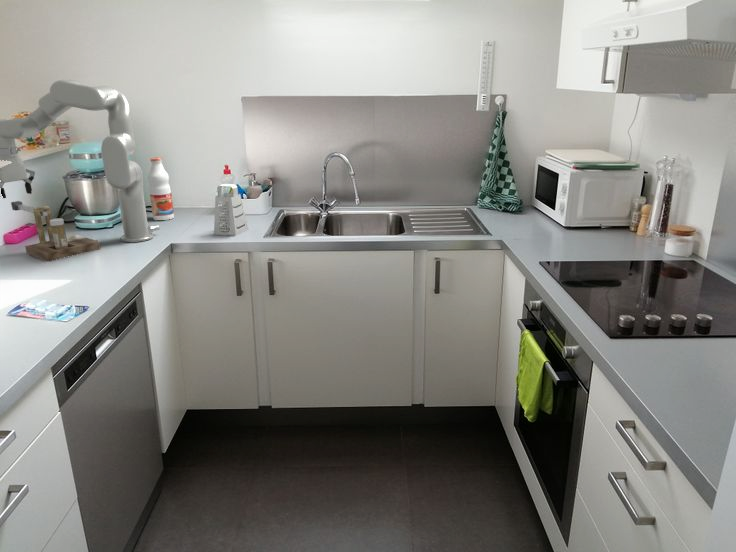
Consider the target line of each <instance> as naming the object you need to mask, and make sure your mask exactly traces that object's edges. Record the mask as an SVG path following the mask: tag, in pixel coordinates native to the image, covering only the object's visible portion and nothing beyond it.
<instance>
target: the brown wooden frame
mask: <svg viewBox="0 0 736 552" xmlns="http://www.w3.org/2000/svg"><path fill="white" fill-rule="evenodd" d="M43 210H44V211H47V213H48V216H44V218H45V219H44V220H45V224H46V228H47V229H46V230H47V233H48V240H47V239H46V234H45V230H44V225H43V220H42V216H41V214H40V211H43ZM33 212H34V213H33V216H34V221H35V226H36V230H37V236H38V241H39V242H38V243H33V244H29V245H25V247H24V248H25V252H26V254H27V255H29V256H31V255H32V256H31V257H34V258H37V259H39V260H42V261H44V260H45V261H44V262H48V261H49V262H53V261H56V259H57V260H60V258H61V259H64V257H65V258H68V256H69V257H73V256H77V254H78V255H81V253H82V254H84V253H85V252H86V253H90V252H94V251H97V250H101V246H100V241H99V240H95V239H91V238H89V237H87V236H84V235H83V236H82V235H79V234H75V235H70V236H66V238H67V243H68V248H64V249H60V250H56V247H55V244H54V239H53V234H52V233H53V232H52V228H51V225H50V220H52V219H53V218H52V213H51V208H50V206H48V205H44V206H40V207H39V206H38V207H33ZM86 253H85V254H86ZM72 255H73V256H72ZM52 260H53V261H52Z"/></svg>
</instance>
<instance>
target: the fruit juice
mask: <svg viewBox="0 0 736 552" xmlns="http://www.w3.org/2000/svg"><path fill="white" fill-rule="evenodd" d="M150 162H151V167H150V170H149V174H147V175H148V176H147V180H148V184H149V190H148V191H149V197H150V206H151V213H152V219H153V220H154V221H157V220H165V221H170V220H172V218H173V219H174V218H175V213H174V205H173V204H174V203H173V197H172V189H171V186H170V184H169V183H170V182H169V181H170V175H169V173H168V172H167V171H166V170H165V167H164V165H163V158H162V157H151V158H150ZM169 219H170V220H169Z"/></svg>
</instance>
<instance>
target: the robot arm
mask: <svg viewBox="0 0 736 552" xmlns="http://www.w3.org/2000/svg"><path fill="white" fill-rule="evenodd" d="M72 108H77V109H82V110H85V111H91V112H93V111H94V112H97V111H98V112H99V111H103V110H106V111H107V112H108V114H107V115H108V117H107V123H108V124H107V125H108V129H109V135H107V136H106V137H105V138H104V139H103V141H102V142H101V148H100V149H101V157H102V163H103V171H104V175H105V179H106V182H107V183H108V184H109V186H111V187H112V188H113V189H115V190H117V193H118V195H117V197H118V202H119V203H118V204H119V209H120V217H121V224H122V229H123V235H122V236H120V241H122V242H123V243H140V242H145V241H149V240H152V239H153V238H154V233H153V232H156V231H159V230H160V226H159V225H148V216H147V210H146V209H147V207H146V201H145V194H144V174H143V170H142V168H141V166H140V165H139V163H137V162H135V161H133V160H129V157H131V156H132V155H134V154H135V151H136V149H137V148H136V146H137V145H136V139H135V133H134V127H133V122H132V113H131V108H130V104H129V101H128V99H127V98H126V96H125V95H124V94H123V93H122V92H120V91H119V90H118V89H115V88H113V87H110V86H105V85H104V86H103V85H99V86H88V85H84V84H83V85H82V84H81V83H80V82H78V81H76V80H73V79H61V80H56V81H54V82H53V83H52V84H51V86H50V87H49V92H48V93H46V94H44V95H43V96H42V97H41V98H40V97H39V99H38V107H36V109H35V110H34V111H32V112H31V113H29V114H28V115H27V116H24V117H17V118H12V119H11V118H10V119H5V118H4V119H3V118H2V119H0V160H1V161H2V160H4V161H6V160H7V161H11V162H12V163H11V164H8V165H6V166H4V167H2V168H0V180H1V182H0V188H1V194H2V196H3V198H2V199H6V198H7V195H6V191H5V188H3V186H4V185H5V183H13V182H19V181H23V182H24V187H25V188H24V189H25V192H26V194H30V195H32V193H33V188H32V185H31V184H32V182H33V180H34V179H35V175H36V171H34V170H30V169H28V168H26V167H25V163H24V162H23V159H22V156H21V155H20V154H19V152H21V147H17V144H16V141H15V140H20V139H21V140H22V139H25V138H30V137H31V138H32V137H34V136H37V135H39V134H40V133H41V132H43V131H44V130H47V128H48V127H50V126H51V125H52V124H53V123H54V122H55V121H56V120H57V118H59V117H60V116H62V115H63V114H64V113H67V111H68V110H70V109H72ZM28 174H29V176H28Z"/></svg>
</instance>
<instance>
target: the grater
mask: <svg viewBox="0 0 736 552" xmlns="http://www.w3.org/2000/svg"><path fill="white" fill-rule="evenodd" d="M223 187H231V189H232V193H231V192H230V193H229V192H224V191H223ZM216 191H217V195H216V196H215V200H214V203H215V205H214V220H213V221H214V222H213V223H214V225H213V226H214V227H213V234H214V235H221V236H222V235H223V236H232V237H235V236H236V237H237V236H238V235H241V234H242V233H244V232H247V231H249V227H248V221H247V217H246V212H245V209H244V203H243V200H242V196H241V195H242V194H241V193H239V189H238V186H237V184H232V183H231V184H230V183H222V184H220V185H218V186H217V189H216ZM223 192H224V193H223Z"/></svg>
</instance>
